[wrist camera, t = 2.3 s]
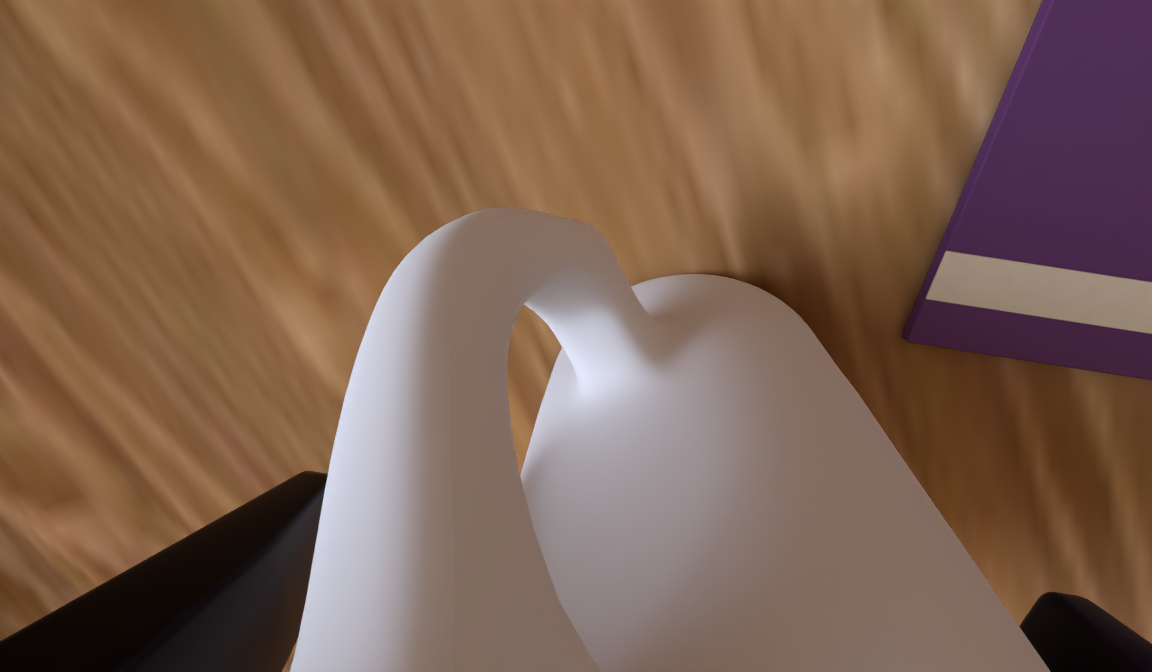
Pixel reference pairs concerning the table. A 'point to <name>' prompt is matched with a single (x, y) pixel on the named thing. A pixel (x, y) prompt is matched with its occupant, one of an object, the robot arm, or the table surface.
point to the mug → (623, 485)
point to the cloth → (1057, 204)
